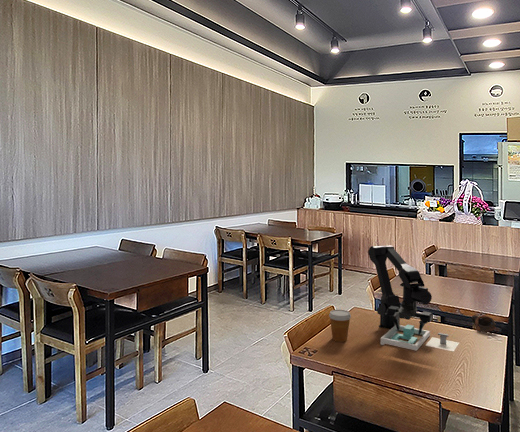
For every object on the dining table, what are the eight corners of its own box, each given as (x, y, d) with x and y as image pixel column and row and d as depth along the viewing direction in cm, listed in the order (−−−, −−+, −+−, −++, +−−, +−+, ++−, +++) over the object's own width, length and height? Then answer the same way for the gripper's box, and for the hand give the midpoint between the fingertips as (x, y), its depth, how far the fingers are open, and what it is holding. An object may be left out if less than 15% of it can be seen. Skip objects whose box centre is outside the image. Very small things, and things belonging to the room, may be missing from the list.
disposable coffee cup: (327, 342, 189) (328, 315, 188) (329, 334, 198) (329, 308, 197) (350, 344, 187) (350, 316, 185) (351, 336, 196) (351, 310, 195)
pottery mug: (500, 332, 200) (500, 320, 196) (487, 344, 197) (486, 332, 193) (477, 319, 210) (476, 307, 205) (464, 330, 207) (463, 318, 202)
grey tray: (380, 344, 186) (380, 337, 185) (395, 330, 202) (396, 324, 202) (416, 352, 177) (416, 345, 177) (429, 337, 193) (429, 331, 193)
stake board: (425, 347, 182) (425, 336, 182) (432, 339, 191) (432, 328, 191) (453, 353, 176) (454, 341, 175) (459, 345, 185) (459, 333, 184)
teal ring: (389, 343, 186) (389, 332, 186) (400, 332, 198) (400, 323, 198) (410, 347, 181) (411, 337, 181) (420, 337, 193) (421, 327, 192)
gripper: (382, 299, 190) (381, 333, 192) (426, 306, 179) (425, 343, 181) (391, 293, 199) (390, 326, 201) (433, 299, 188) (432, 334, 190)
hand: (408, 332), depth 193 cm, fingers open, 9 cm apart
